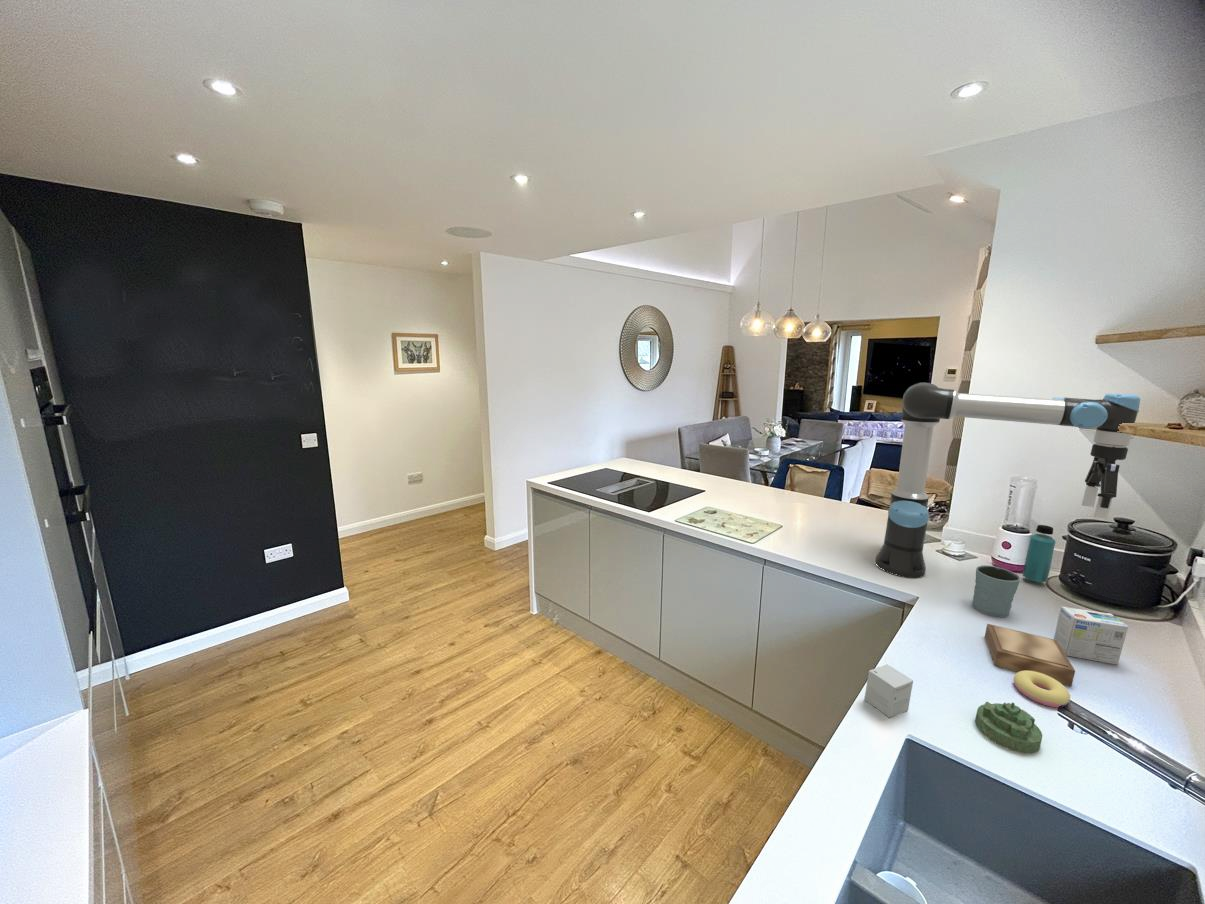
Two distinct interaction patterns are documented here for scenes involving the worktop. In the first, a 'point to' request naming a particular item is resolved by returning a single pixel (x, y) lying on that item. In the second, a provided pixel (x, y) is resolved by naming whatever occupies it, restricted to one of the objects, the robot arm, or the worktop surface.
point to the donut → (1041, 688)
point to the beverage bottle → (1039, 555)
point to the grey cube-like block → (888, 690)
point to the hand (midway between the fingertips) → (1093, 511)
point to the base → (1028, 653)
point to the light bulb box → (1090, 634)
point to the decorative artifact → (1009, 727)
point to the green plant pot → (994, 590)
